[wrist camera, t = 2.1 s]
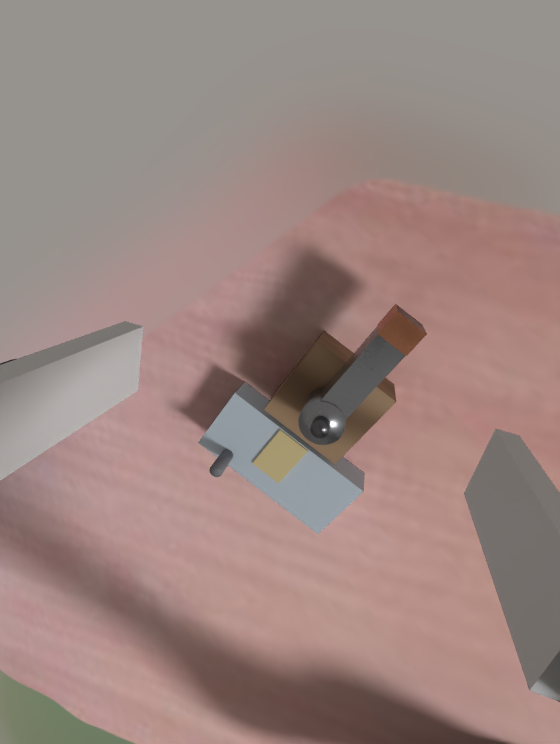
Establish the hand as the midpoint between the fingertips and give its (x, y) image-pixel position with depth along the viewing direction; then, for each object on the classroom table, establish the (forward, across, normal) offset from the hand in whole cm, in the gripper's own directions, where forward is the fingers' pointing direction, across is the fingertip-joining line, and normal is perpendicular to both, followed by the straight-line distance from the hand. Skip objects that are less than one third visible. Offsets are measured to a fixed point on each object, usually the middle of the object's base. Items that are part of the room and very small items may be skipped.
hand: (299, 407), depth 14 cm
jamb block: (+22, +1, -8) cm, 23 cm away
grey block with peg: (+22, -2, -16) cm, 27 cm away
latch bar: (+17, +2, -4) cm, 18 cm away
